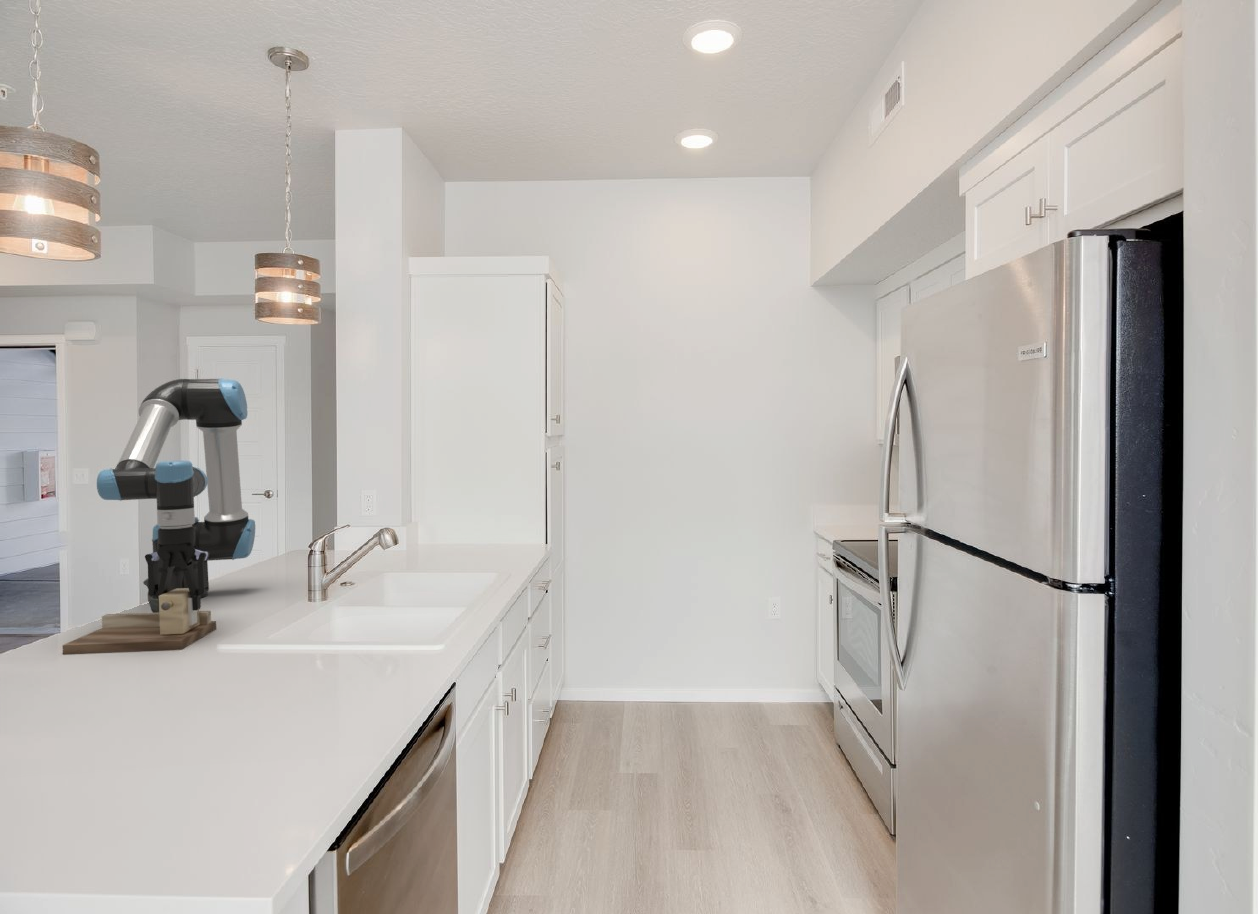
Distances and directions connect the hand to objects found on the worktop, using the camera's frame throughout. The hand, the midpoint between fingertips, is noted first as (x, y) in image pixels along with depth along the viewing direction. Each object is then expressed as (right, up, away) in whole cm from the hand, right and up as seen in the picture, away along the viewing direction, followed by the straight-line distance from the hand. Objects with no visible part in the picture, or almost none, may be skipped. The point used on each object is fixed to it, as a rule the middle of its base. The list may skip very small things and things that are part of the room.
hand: (180, 624), depth 174 cm
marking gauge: (0, -1, 0) cm, 1 cm away
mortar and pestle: (-12, -3, +16) cm, 21 cm away
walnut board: (-8, -4, -1) cm, 9 cm away
